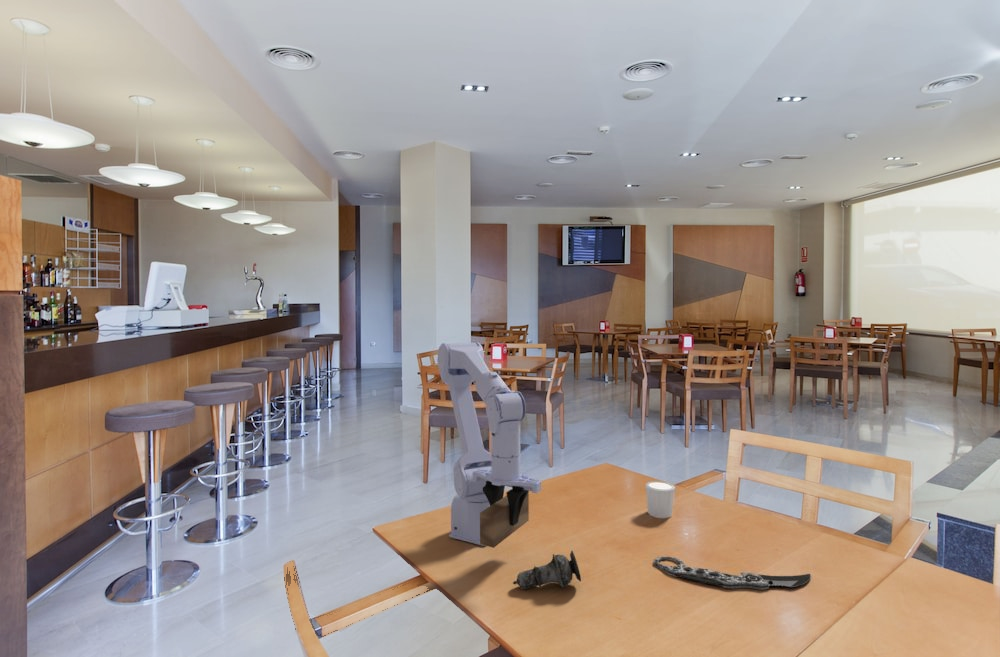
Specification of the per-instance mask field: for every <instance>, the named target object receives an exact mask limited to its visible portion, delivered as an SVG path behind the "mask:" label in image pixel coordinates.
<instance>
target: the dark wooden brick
mask: <svg viewBox="0 0 1000 657" xmlns="http://www.w3.org/2000/svg"><path fill="white" fill-rule="evenodd" d="M529 493H530V491H529V492H528V494H527V496H526V498H525V500H524V502H523V505H522V508H521V511H520V515H519V519H518V523H516V524H515V525H514V526H512V525H510V510H509V502H508V498H507V495H505V496H503V498H502V499H501V500H499V501H497V502H496V503H494V504H493V505H491V506H490V507H488V508H487V509H485V510H483V511H482V512H480V544H481V545H480V546H482V545H485V546H484V547H489V548H492V549H494V548H496V547H497V546H498V545H500V543H502V542H503V541H504V540H506V539H507V538H509V537H510V536H511V535H512V534H514V533H515V532H516V531H518V529H520V528H521V527H522V526H523V525H525V524H526V523H528V522H529V519H530V512H529V510H530V509H529V508H530V507H529V506H530V505H529V504H530V503H529V502H530V501H529V500H530V498H529V497H530V496H529V495H530V494H529Z"/></svg>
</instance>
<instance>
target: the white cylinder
mask: <svg viewBox="0 0 1000 657" xmlns="http://www.w3.org/2000/svg"><path fill="white" fill-rule="evenodd" d="M675 490H676V487H675V485H674V484H672V483H670V482H666V481H658V480H657V481H656V480H655V481H648V482H646V483H645V494H646V505H647V513H649V514H650V515H649V514H648V515H649V516H651V517H652V518H657V519H669V518H671V517H672V516H673V508H674V499H675Z"/></svg>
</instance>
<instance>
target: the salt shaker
mask: <svg viewBox="0 0 1000 657" xmlns="http://www.w3.org/2000/svg"><path fill="white" fill-rule="evenodd" d="M569 557H570V560H569V558H568V557H567V556H565V555H564V554H555V553H553V554H552V558H551V561H550V562H548V563H547V564H544V565H543V564H542V565H540V566H536V565H534V566H533V568H531V569H528V570H525V571H520V572H519V573H518V574H517V578H516V580H514V581H513V582H512V584H513V585H518V586H519V588H520V589H521V590H527V589H530V588H534V587H537V586H538V587H539V588H541V587H542V585H546V584H551V583H556V584H558V585H559V586H560V587H561V589H564V587H565V586H569V584H570V583H572V580H573V576H575V578H576V579H577V580H578V581H579V582H582V579H581V578H582V577H581V574H580V569H579V565H578V561H577V559H576V556H575V553H574V551H573V550H571V551H570V554H569Z"/></svg>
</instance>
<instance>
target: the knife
mask: <svg viewBox="0 0 1000 657" xmlns="http://www.w3.org/2000/svg"><path fill="white" fill-rule="evenodd" d="M663 560H671V561H672V562H674V563H676V564H678V565H665V564H663V563H661V562H662V561H663ZM653 566H654V567H656V568H658V569H660V570H661V571H662V572H664V573H665V574H667V575H669V576H671V577H675V578H683V579H687V580H689V581H690V580H691V581H695V582H699V583H704V584H709V585H715V586H719V587H721V588H724V589H730V590H731V589H732V590H733V589H753V590H759V591H764V590H768V589H770V588H773V587H779V586H780V587H785V588H786V587H788V588H794V587H799V586H802V585H805V584H806V583H808V582H809V581H810V580H811V573H805V574H798V575H769V574H767V575H766V574H756V573H754V572H753V573H752V572H745V571H742V572H740V575H739V574H737V575H736V574H729V573H725V572H721V571H718V570H714V569H709V568H700V567H692V566H687V565H686V564H685V563H684V562H683V560H682V559H680V558H677V557H673V556H667V555H663V556H657V557H656V558H654V559H653ZM769 587H770V588H769Z"/></svg>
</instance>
